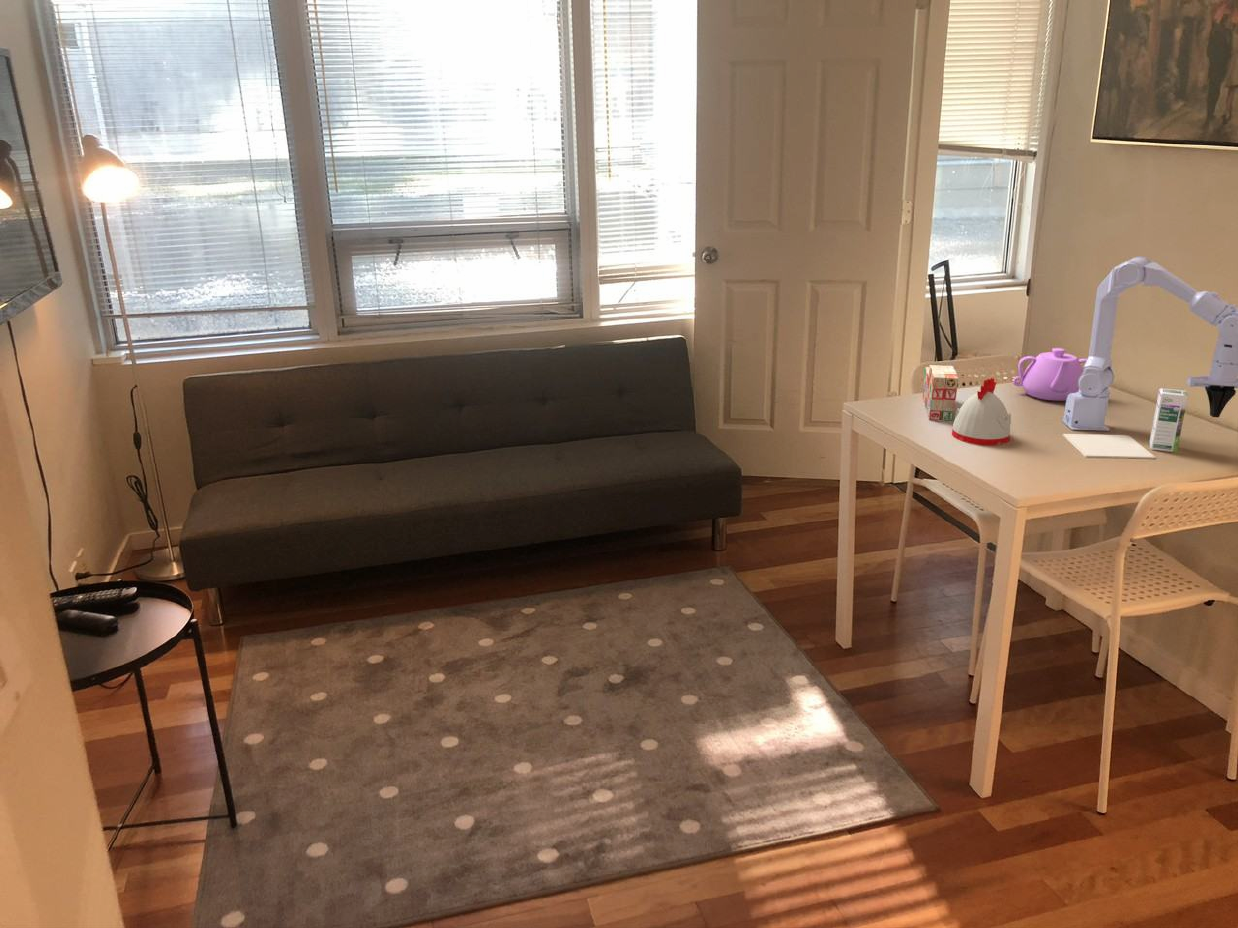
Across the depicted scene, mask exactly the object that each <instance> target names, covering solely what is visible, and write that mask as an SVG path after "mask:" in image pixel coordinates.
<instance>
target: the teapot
mask: <svg viewBox="0 0 1238 928" xmlns="http://www.w3.org/2000/svg"><path fill="white" fill-rule="evenodd" d="M1051 350H1052V352H1051V351H1049V352H1048V351H1047V352H1041V353H1039V354H1038V355H1037V356H1036V357H1035V356H1031V355H1028V356H1024V357H1022V358H1020V360H1019V362H1018V366H1017V367H1018V374H1019V376H1015V377H1014V378H1013V379H1012V383H1013V385H1014V386H1016V387H1022V389H1023V390H1024V392H1025V393H1026V394H1027V395H1029V396H1030V397H1032V398H1033V397H1034V398H1035V399H1038V400H1046V401H1057V402H1066V400H1067V397H1068V395H1069V394H1070V393H1076V392H1079V386H1078V380H1079V378H1080V376H1081V375H1082V374H1083V371H1084V367H1083V366H1082V363H1085V364H1086V361H1087V359H1088V358H1080V359H1078V357H1077V356H1075V355H1073V354H1069V353H1065V352H1066V349H1064V348H1061V347H1053V348H1052V349H1051ZM1025 361H1031V363H1030V364H1029V365H1028V366H1027V368H1026V369H1025V371H1023V370H1024V369H1023V364H1024V362H1025ZM1017 380H1019V382H1017Z"/></svg>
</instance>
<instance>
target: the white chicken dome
mask: <svg viewBox="0 0 1238 928" xmlns="http://www.w3.org/2000/svg"><path fill="white" fill-rule="evenodd" d="M996 385H997V382H996V381H995V378H993V377H992V378H991V377H990V378H987V379H984V380H983V384H982V385H980V390H979V391H978V390H977V392H976V393H975V394H973V395H971V396H970V397H969V398H967V399H966V401H965V402H964V403H963V404H962V405H961V407H960V408H958V407H957V409H956V412H955V418H954V421H953V424H952V429H951V436H952V437H953V438H954V439H956V440H958V441H961V442H964V443H967V444H971V443H972V444H973V445H977V444H978V446H999V445H998V444H1000V445H1004V444H1006V443H1008V442H1009V441H1010V437H1011V423H1012V416H1011V415H1012V414H1011V413H1008V411H1007V409H1006V406H1005V404H1004V403H1003V401H1002V400H1001V399H1000V398H999V397H998V396H997V395H996V394H994V391H995V389H996ZM1003 443H1004V444H1003Z"/></svg>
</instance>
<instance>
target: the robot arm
mask: <svg viewBox="0 0 1238 928" xmlns="http://www.w3.org/2000/svg"><path fill="white" fill-rule="evenodd" d="M1142 282H1143V283H1142ZM1141 283H1142V286H1143V287H1159V288H1162V289H1163V290H1165V291H1167V292H1168V293H1170V294H1171V295H1174V296H1175V297H1177V298H1179V299H1181V300H1182V301H1184V302H1186V303H1187V304H1188V306H1189V312H1191V313H1193V314H1194V315H1195V316H1197V317H1199V318H1200V319H1201V320H1202V319H1203V320H1204V321H1205V322H1207V323H1209V324H1210V325H1212V326H1213V327H1217V331H1218V332H1219V333H1218V337H1217V340H1216V343H1215V347H1214V352H1213V356H1212V360H1211V366H1210V370H1209V374H1208V375H1207V376H1206V375H1205V376H1189V377H1187V380H1186V385H1187V386H1188V387H1189V388H1195V387H1203V388H1205V392H1206V394H1207V398H1208V404H1209V416H1211V418H1220V416H1221V414H1222V412H1223V410H1224V409H1225V407H1226V405H1227V404H1228V403H1229V402H1230V400H1231V399H1232V398H1233V397H1234V396H1235V395H1236V392H1237V390H1236V389H1238V308H1237V307H1238V306H1237V305H1236V304H1234V303H1232V305H1231V304H1229V303H1228V302H1227V301H1225V300H1224V299H1222V298H1220V297H1219V293H1217V292H1216V291H1212V292H1211V291H1209V290H1203V291H1198V290H1197V289H1195V288H1194V287H1192V286H1191V285H1189V284H1188V283H1187V282H1185V281H1184V280H1182V279H1181V278H1179V277H1177V276H1176V275H1175V274H1173V273H1172V272H1170V271H1169V270H1167V269H1166V268H1164V267H1163V266H1161V265H1160V264H1159V263H1158V262H1154V261H1151V260H1150V259H1148V258H1147V257H1144V256H1135V257H1133V258H1131V259H1129V260H1126V261H1124V262H1122V263H1120V264H1118V265H1117V266H1114V267H1113V268H1112V269H1111V271H1110V273H1109V274H1108V275H1107V276H1106V277H1105V278H1104V279H1103V280H1102V282H1101V283H1100V284H1099V285H1098V287H1097V290H1096V297H1095V305H1094V313H1093V320H1092V328H1091V336H1090V344H1089V351H1088V358H1086V359H1087V361H1086V363H1085V364H1084V366H1083V370H1084V371H1083V374H1082V375H1081V376H1080V378H1079V380H1078V386H1079V392H1076V393H1070V394H1069V395H1068V397H1067V400H1066V401H1065V407H1064V412H1063V419H1061V421H1062V423H1064V424H1065V425H1066V426H1067V427H1068V428H1069V429H1071V430H1073V431H1105V432H1106V431H1107V432H1108V431H1110V428H1109V427H1108V426H1107V425H1106V424H1105V421H1106V415H1107V410H1108V404H1109V398H1110V394H1111V393H1110V391H1109V387H1110V386H1111V385H1112V384H1113V382H1115V381H1114V380H1115V374H1114V371H1113V359H1112V356H1111V355H1112V348H1113V344H1114V343H1113V342H1114V341H1113V340H1114V335H1115V333H1114V332H1115V326H1116V320H1117V313H1118V306H1119V305H1118V304H1119V297H1120V295H1122V294H1123V293H1125V292H1126V291H1127V290H1129V289H1131V288H1133V287H1136V286H1138V285H1139V284H1141Z"/></svg>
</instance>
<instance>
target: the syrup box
mask: <svg viewBox="0 0 1238 928" xmlns="http://www.w3.org/2000/svg"><path fill="white" fill-rule="evenodd" d="M1188 397H1189V395H1188V393H1187V391H1186V389H1181V390H1180V389H1174V388H1173V389H1171V388H1162V387H1160V388H1159V389H1158V394H1157V400H1156V405H1155V410H1154V415H1153V421H1152V426H1151V432H1150V437H1149V442H1148V443H1149V448H1150V450H1151V451H1161V452H1168V453H1169V452H1170V453H1177V452H1178V447H1179V442H1180V438H1181V433H1182V428H1183V422H1184V418H1185V417H1184V416H1185V412H1186V408H1187V404H1188V399H1189V398H1188Z"/></svg>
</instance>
